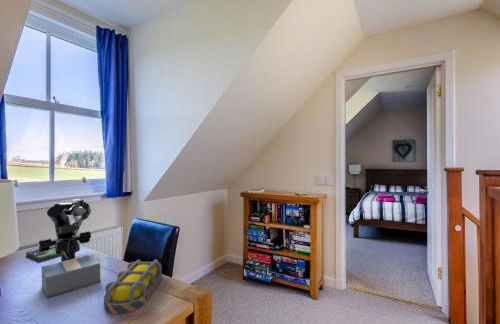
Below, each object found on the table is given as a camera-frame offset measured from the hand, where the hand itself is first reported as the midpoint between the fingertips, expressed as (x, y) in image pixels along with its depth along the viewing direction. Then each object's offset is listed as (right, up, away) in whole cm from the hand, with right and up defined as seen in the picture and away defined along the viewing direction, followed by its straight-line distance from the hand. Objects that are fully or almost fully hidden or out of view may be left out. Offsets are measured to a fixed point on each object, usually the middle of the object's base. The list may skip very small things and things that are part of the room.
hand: (69, 258), depth 112 cm
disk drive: (-31, -9, +27) cm, 42 cm away
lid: (+3, -2, -4) cm, 5 cm away
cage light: (+32, -10, -9) cm, 35 cm away
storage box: (+3, -9, -3) cm, 11 cm away
